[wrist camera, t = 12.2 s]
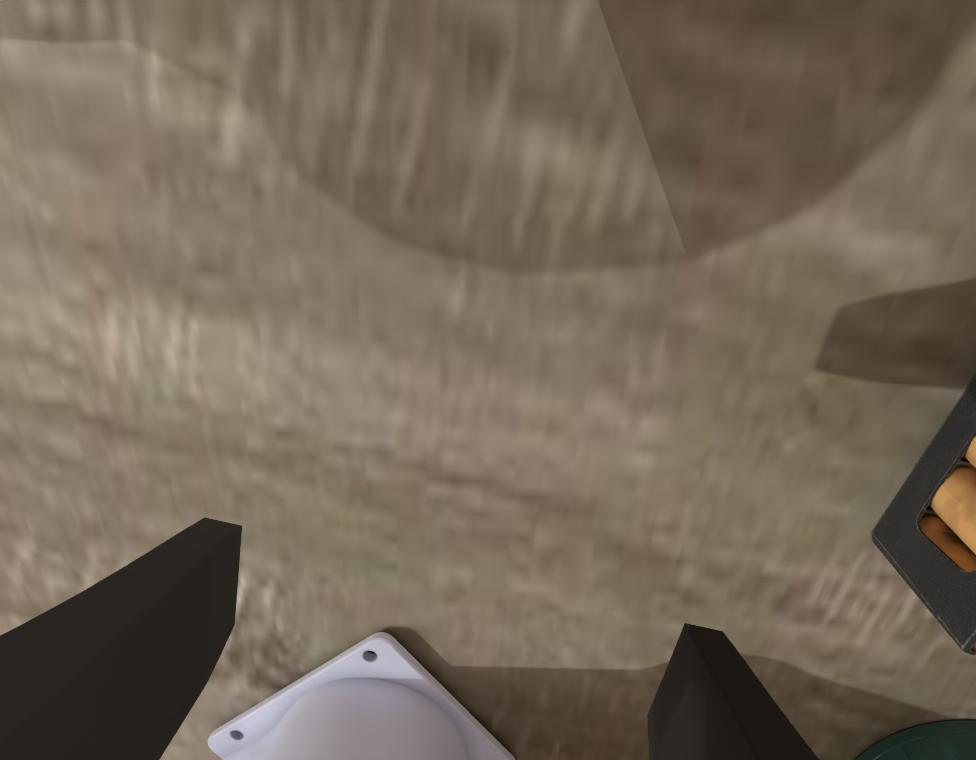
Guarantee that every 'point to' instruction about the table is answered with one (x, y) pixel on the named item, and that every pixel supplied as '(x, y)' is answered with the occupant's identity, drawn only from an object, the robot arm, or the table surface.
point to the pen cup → (928, 743)
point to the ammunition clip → (940, 525)
